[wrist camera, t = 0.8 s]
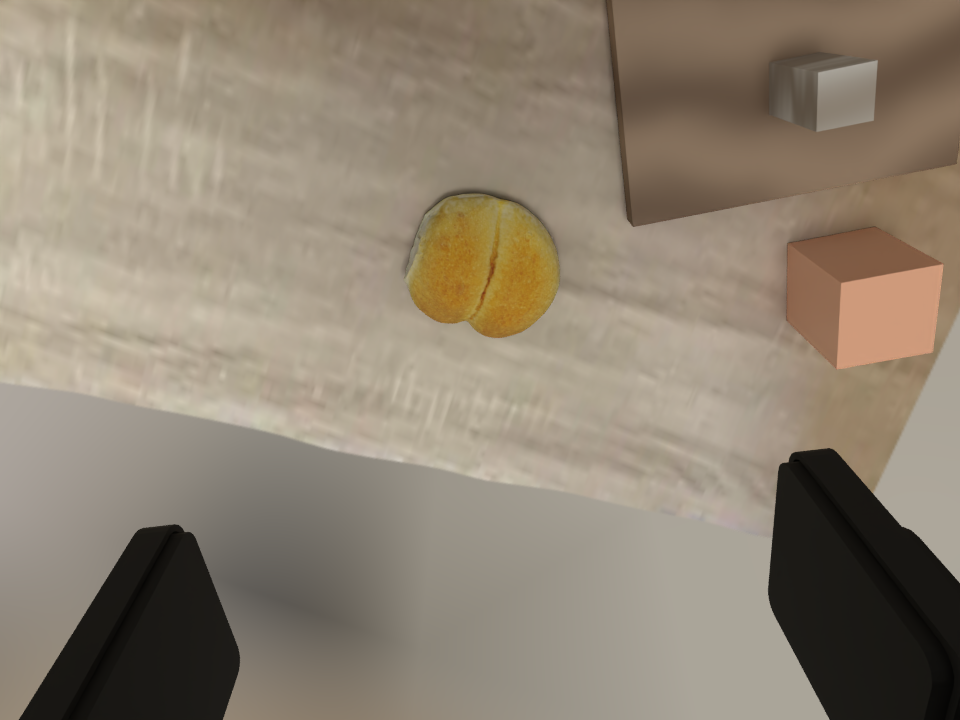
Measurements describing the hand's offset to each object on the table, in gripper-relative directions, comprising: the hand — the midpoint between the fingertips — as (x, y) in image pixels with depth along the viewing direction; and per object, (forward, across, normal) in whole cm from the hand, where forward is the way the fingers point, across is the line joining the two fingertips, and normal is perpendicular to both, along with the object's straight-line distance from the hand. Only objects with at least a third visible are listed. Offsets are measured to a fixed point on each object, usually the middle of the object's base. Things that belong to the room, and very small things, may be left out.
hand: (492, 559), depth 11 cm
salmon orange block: (+32, -21, +9) cm, 39 cm away
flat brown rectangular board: (+31, -18, -3) cm, 36 cm away
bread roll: (+32, 0, +6) cm, 33 cm away
